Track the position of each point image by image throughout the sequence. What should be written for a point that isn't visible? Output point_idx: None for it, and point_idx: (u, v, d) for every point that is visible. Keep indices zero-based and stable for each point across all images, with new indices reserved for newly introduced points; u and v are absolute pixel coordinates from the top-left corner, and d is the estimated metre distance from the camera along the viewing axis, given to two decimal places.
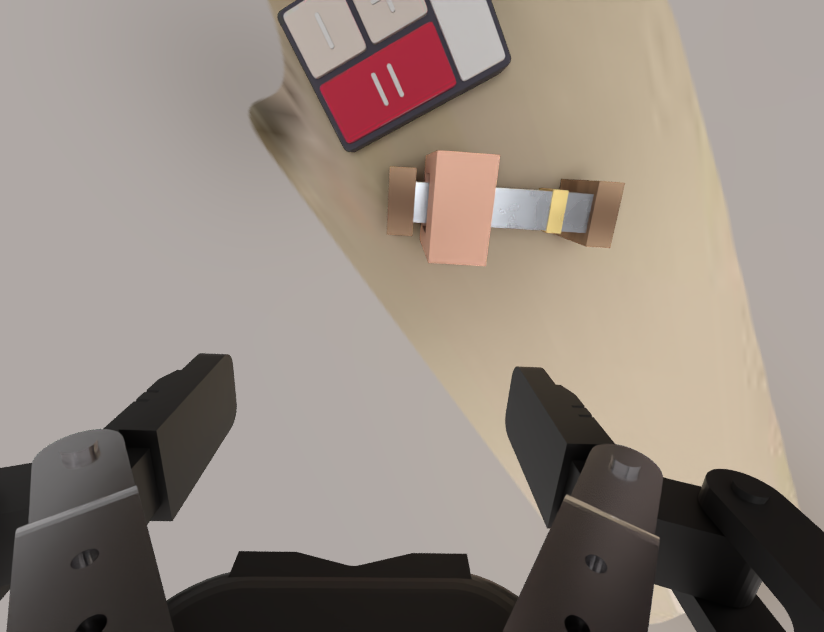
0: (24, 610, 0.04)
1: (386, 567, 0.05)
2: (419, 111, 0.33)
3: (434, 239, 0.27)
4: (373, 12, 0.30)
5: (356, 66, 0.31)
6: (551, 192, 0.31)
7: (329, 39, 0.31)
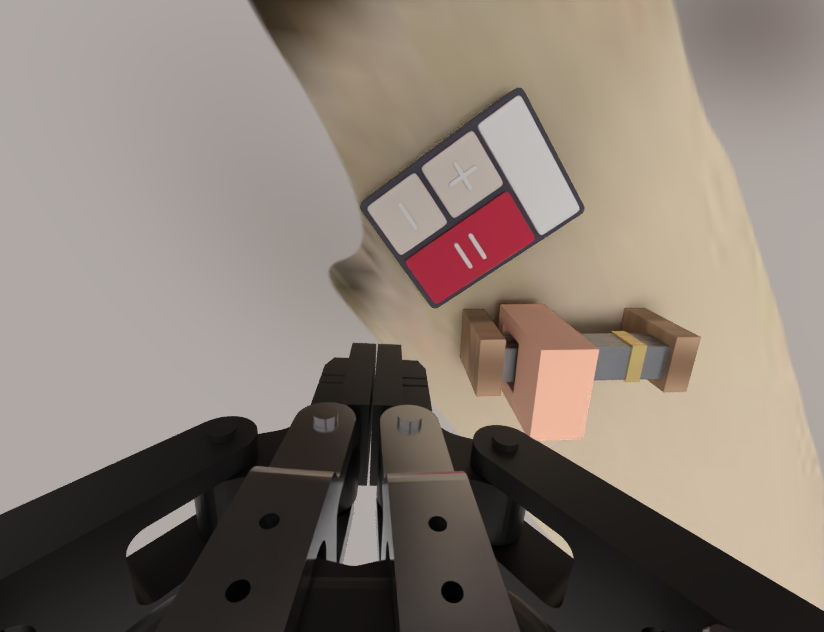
0: (218, 541, 0.05)
1: (387, 567, 0.05)
2: (500, 265, 0.34)
3: (535, 421, 0.29)
4: (452, 192, 0.32)
5: (439, 239, 0.33)
6: (630, 347, 0.33)
7: (412, 221, 0.32)
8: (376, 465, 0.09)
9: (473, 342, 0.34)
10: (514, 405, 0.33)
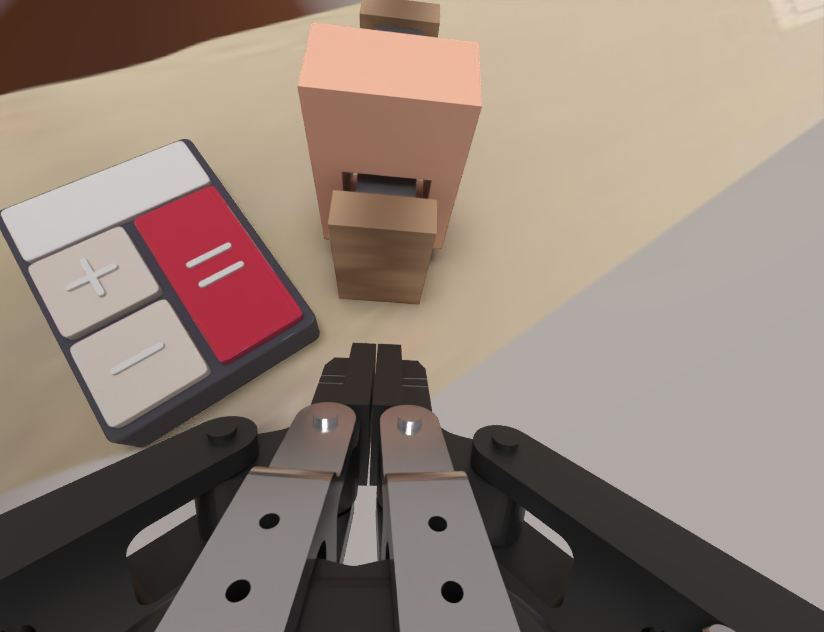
0: (218, 541, 0.05)
1: (386, 567, 0.05)
2: (251, 229, 0.23)
3: (441, 97, 0.16)
4: (116, 292, 0.20)
5: (190, 309, 0.21)
6: None
7: (150, 350, 0.20)
8: (376, 465, 0.09)
9: (355, 254, 0.21)
10: (449, 174, 0.19)
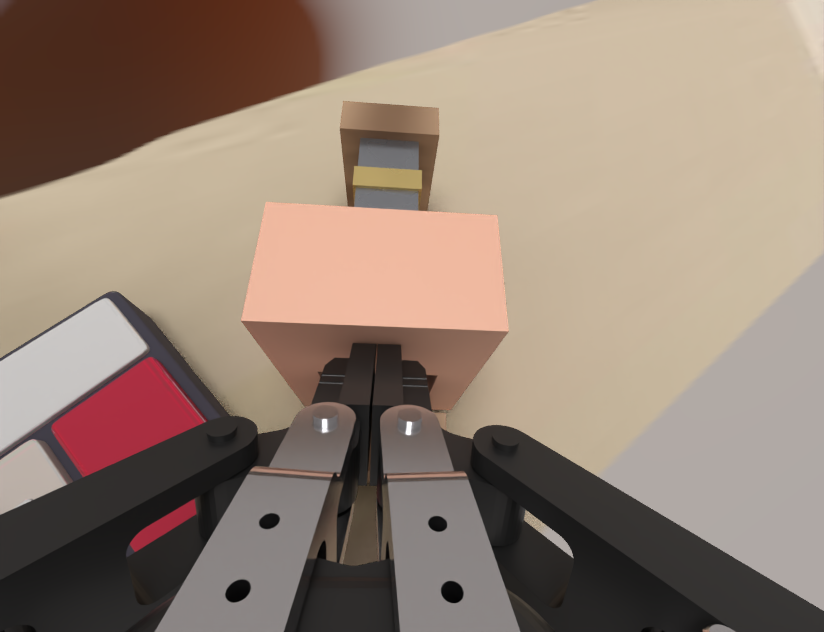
0: (218, 541, 0.05)
1: (386, 568, 0.05)
2: (207, 406, 0.19)
3: (450, 320, 0.11)
4: None
5: (137, 548, 0.16)
6: (357, 188, 0.19)
7: None
8: (376, 465, 0.09)
9: None
10: (461, 371, 0.15)
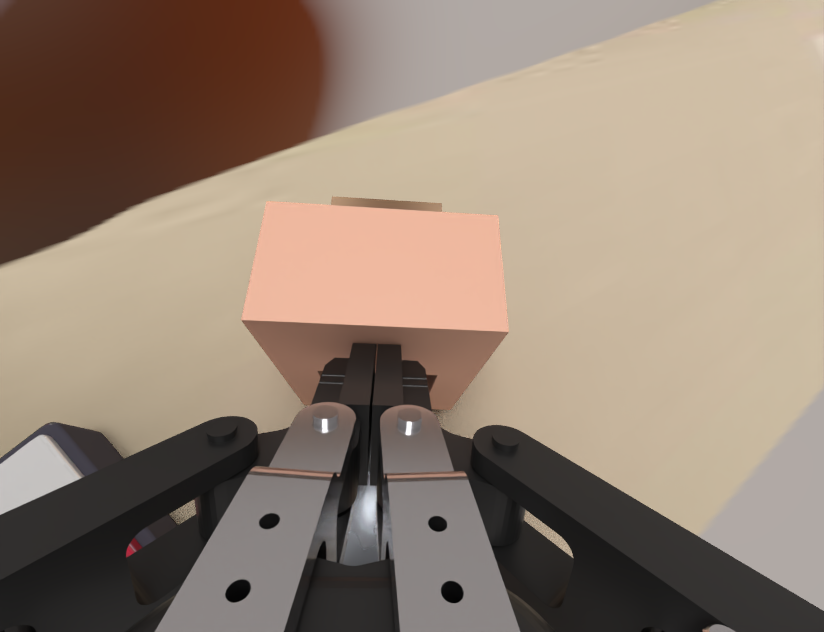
0: (218, 540, 0.05)
1: (387, 568, 0.05)
2: None
3: (450, 320, 0.11)
4: None
5: None
6: None
7: None
8: (376, 465, 0.09)
9: None
10: (461, 371, 0.15)
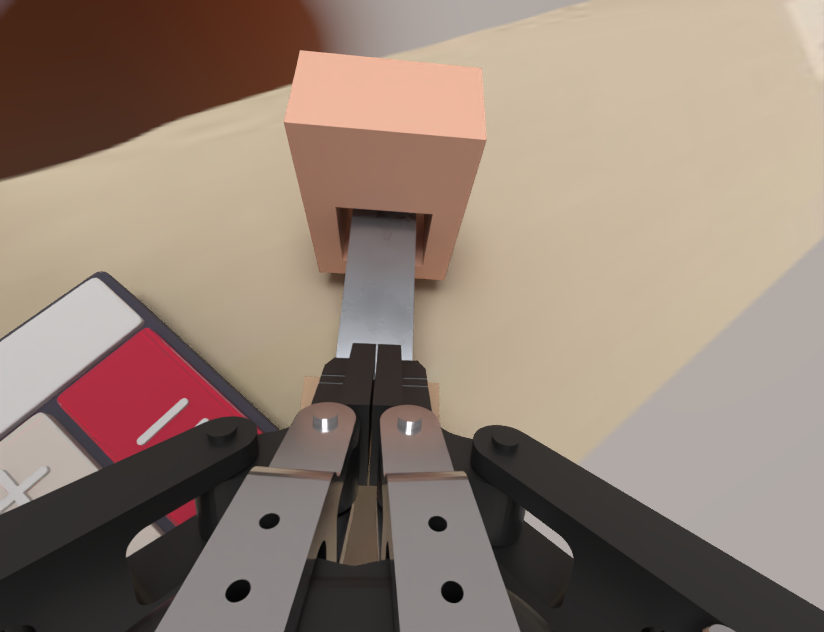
0: (218, 541, 0.05)
1: (387, 567, 0.05)
2: (207, 369, 0.19)
3: (442, 131, 0.15)
4: None
5: None
6: None
7: None
8: (376, 465, 0.09)
9: None
10: (452, 208, 0.18)
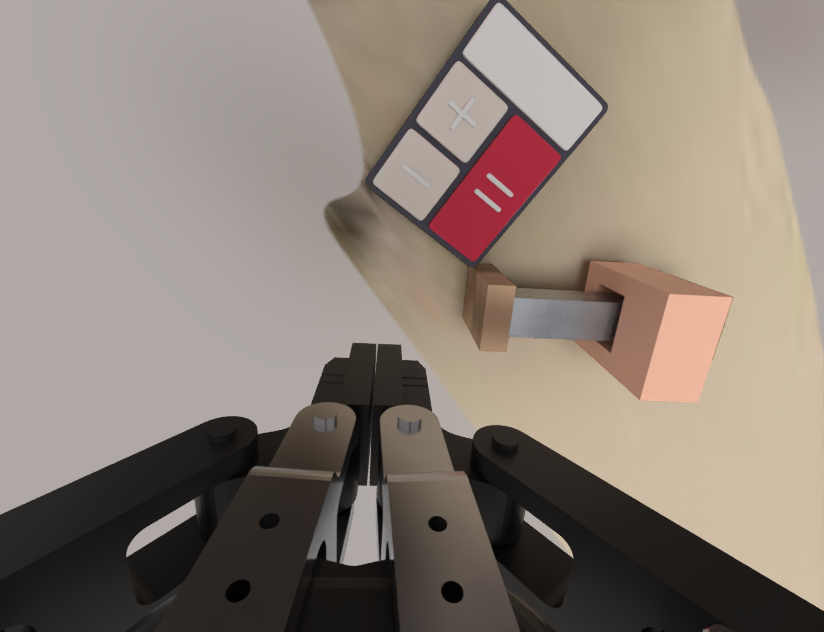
0: (218, 541, 0.05)
1: (387, 568, 0.05)
2: (531, 199, 0.31)
3: (649, 378, 0.26)
4: (456, 136, 0.29)
5: (457, 191, 0.30)
6: None
7: (423, 180, 0.30)
8: (376, 465, 0.09)
9: (479, 292, 0.31)
10: (612, 366, 0.30)
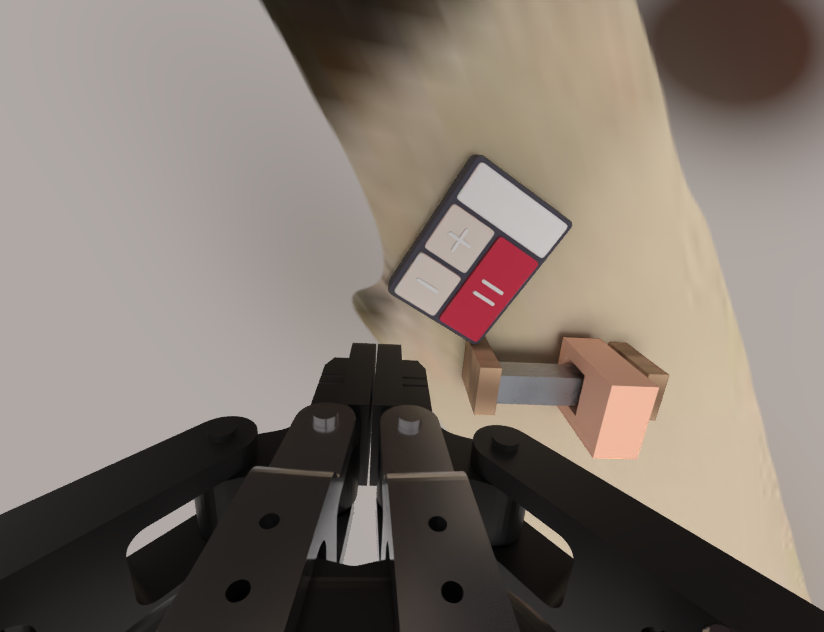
0: (218, 541, 0.05)
1: (386, 568, 0.05)
2: (517, 293, 0.40)
3: (599, 442, 0.35)
4: (456, 255, 0.37)
5: (459, 293, 0.39)
6: None
7: (433, 288, 0.39)
8: (376, 465, 0.09)
9: (474, 367, 0.40)
10: (576, 426, 0.39)
